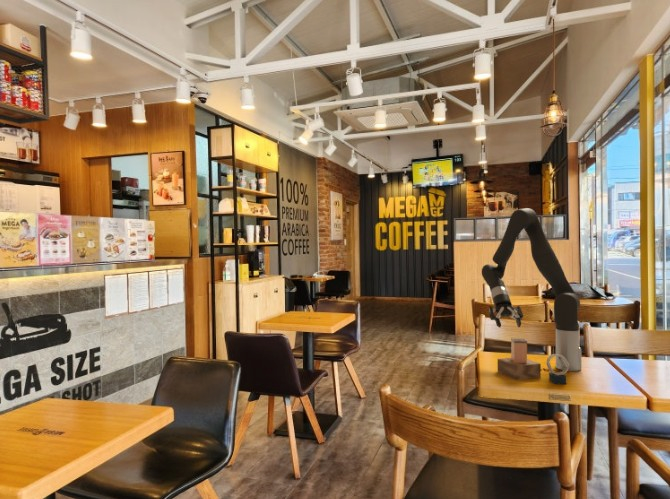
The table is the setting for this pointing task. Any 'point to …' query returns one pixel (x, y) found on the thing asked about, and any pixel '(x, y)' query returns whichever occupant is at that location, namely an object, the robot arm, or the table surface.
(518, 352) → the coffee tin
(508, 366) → the walnut block
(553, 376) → the watch
